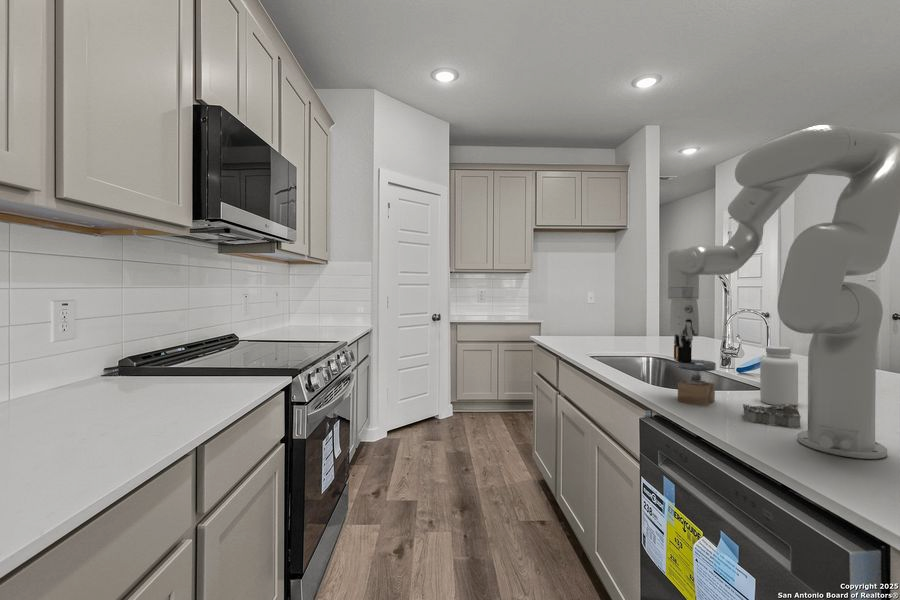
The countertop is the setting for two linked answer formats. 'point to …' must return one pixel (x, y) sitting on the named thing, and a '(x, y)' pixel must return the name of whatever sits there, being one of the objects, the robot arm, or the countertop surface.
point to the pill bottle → (778, 377)
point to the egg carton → (773, 414)
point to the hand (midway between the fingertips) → (682, 359)
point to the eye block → (696, 392)
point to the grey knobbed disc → (695, 366)
